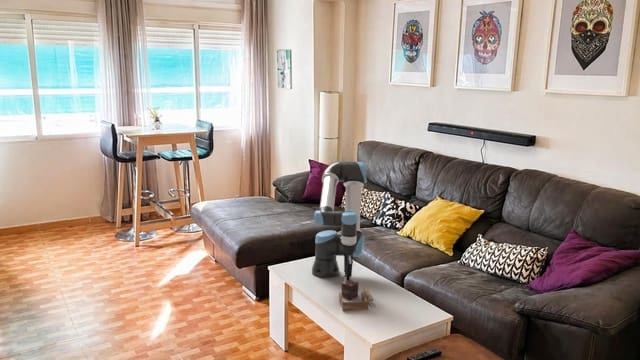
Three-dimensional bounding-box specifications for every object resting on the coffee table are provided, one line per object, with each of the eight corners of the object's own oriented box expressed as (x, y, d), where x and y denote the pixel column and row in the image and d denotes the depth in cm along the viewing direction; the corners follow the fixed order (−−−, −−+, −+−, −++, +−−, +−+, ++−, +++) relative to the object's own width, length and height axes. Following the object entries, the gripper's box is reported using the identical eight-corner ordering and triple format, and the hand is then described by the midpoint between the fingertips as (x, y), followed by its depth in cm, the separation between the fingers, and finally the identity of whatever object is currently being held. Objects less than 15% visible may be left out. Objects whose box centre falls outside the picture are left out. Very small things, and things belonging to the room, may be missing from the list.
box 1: (358, 296, 255) (358, 282, 254) (350, 300, 251) (350, 286, 250) (348, 293, 259) (349, 279, 258) (341, 296, 255) (341, 282, 254)
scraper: (363, 292, 261) (363, 288, 260) (368, 292, 261) (368, 288, 261) (370, 306, 244) (370, 302, 244) (375, 306, 244) (375, 302, 244)
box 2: (338, 300, 251) (339, 292, 250) (363, 299, 252) (363, 291, 251) (342, 310, 240) (342, 302, 239) (368, 309, 241) (368, 301, 240)
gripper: (339, 239, 263) (338, 283, 267) (343, 247, 250) (342, 293, 254) (353, 239, 264) (352, 282, 268) (358, 247, 251) (357, 292, 255)
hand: (347, 287), depth 261 cm, fingers closed
